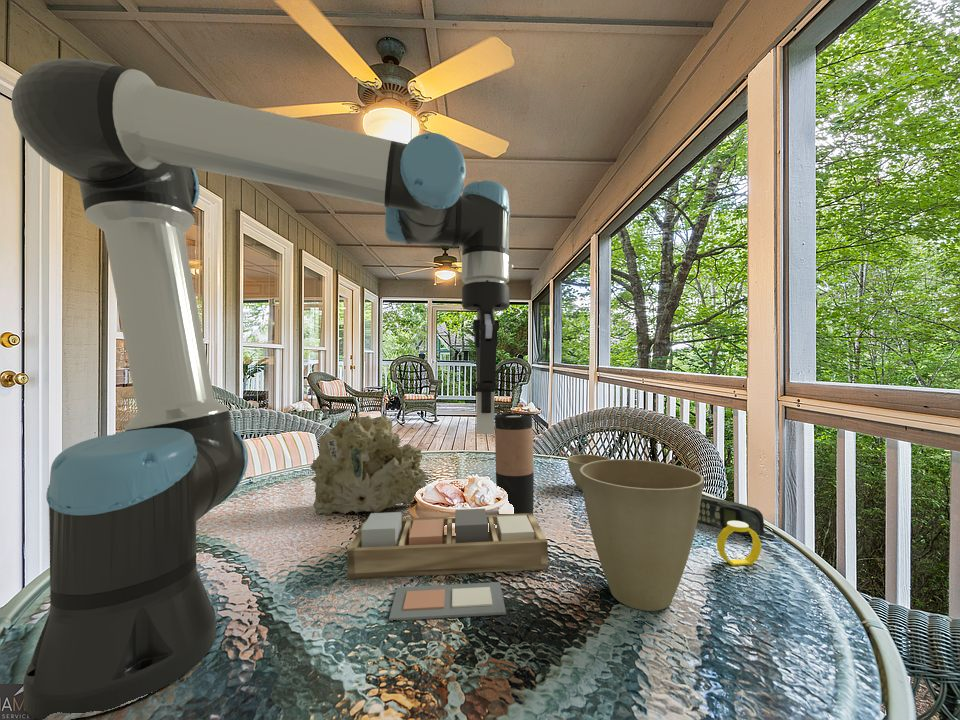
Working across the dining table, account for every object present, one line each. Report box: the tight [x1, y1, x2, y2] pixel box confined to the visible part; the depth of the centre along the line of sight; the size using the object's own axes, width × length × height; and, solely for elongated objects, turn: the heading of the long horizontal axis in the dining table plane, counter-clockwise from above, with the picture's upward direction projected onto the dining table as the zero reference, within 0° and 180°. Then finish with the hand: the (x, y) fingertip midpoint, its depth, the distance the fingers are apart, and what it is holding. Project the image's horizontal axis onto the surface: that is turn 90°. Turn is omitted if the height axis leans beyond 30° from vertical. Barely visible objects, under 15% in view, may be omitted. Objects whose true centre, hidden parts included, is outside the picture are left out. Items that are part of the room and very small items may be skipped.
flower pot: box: [566, 454, 611, 491], centre depth 100 cm, size 10×10×7 cm
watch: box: [716, 521, 762, 567], centre depth 62 cm, size 6×3×6 cm, turn 94°
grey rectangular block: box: [454, 508, 489, 543], centre depth 67 cm, size 7×5×3 cm
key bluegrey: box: [361, 511, 402, 547], centre depth 66 cm, size 7×5×3 cm
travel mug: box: [494, 412, 535, 514], centre depth 84 cm, size 8×8×20 cm
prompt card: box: [388, 581, 507, 622], centre depth 54 cm, size 7×14×1 cm, turn 93°
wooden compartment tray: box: [346, 512, 549, 580], centre depth 67 cm, size 12×29×4 cm, turn 93°
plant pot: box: [580, 458, 705, 612], centre depth 54 cm, size 15×15×16 cm
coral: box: [309, 414, 429, 515], centre depth 89 cm, size 25×10×20 cm, turn 87°
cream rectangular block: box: [497, 515, 534, 541], centre depth 67 cm, size 7×5×3 cm
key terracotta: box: [409, 519, 444, 545], centre depth 66 cm, size 7×5×3 cm
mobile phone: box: [697, 495, 775, 540], centre depth 75 cm, size 5×3×15 cm
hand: (485, 433), depth 66 cm, fingers closed
